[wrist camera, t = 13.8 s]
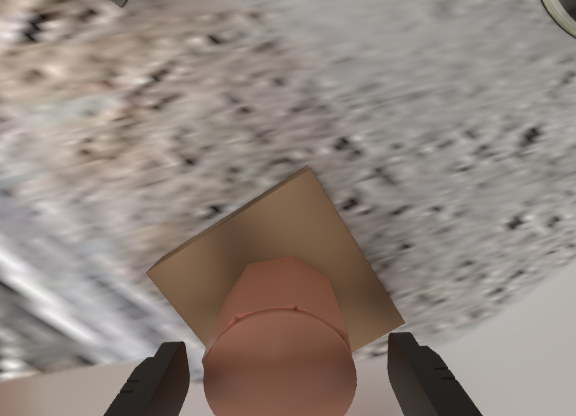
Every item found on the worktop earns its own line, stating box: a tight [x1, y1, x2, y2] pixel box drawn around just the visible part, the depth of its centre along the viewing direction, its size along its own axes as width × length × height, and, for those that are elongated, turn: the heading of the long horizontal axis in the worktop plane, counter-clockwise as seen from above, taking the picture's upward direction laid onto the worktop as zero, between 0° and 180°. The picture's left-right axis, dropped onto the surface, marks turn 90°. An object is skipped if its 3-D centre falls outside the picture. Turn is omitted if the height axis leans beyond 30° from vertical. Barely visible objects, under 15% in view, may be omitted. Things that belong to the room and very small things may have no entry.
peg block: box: [146, 166, 405, 353], centre depth 14 cm, size 10×10×6 cm
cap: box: [202, 256, 357, 416], centre depth 13 cm, size 6×6×5 cm
